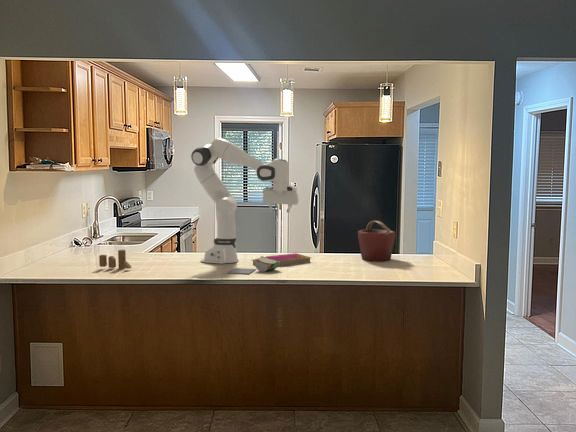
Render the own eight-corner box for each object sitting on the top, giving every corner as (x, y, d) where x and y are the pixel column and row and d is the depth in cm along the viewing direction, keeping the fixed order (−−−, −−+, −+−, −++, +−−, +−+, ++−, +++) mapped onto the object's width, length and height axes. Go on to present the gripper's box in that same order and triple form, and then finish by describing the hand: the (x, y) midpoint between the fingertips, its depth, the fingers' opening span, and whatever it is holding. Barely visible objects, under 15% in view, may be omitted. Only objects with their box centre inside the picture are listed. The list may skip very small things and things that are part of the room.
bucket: (398, 264, 329) (399, 222, 327) (361, 264, 327) (362, 222, 325) (387, 258, 353) (388, 219, 351) (353, 258, 352) (354, 219, 350)
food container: (270, 276, 297) (280, 271, 305) (270, 266, 296) (280, 260, 304) (251, 271, 303) (261, 265, 312) (252, 260, 302) (262, 255, 310)
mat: (227, 273, 294) (227, 272, 294) (234, 269, 308) (234, 268, 308) (248, 274, 292) (248, 273, 292) (255, 270, 305) (255, 268, 305)
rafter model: (265, 269, 310) (265, 258, 310) (250, 266, 321) (250, 255, 321) (312, 263, 332) (312, 253, 332) (296, 260, 343) (297, 250, 343)
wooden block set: (98, 270, 301) (97, 252, 300) (104, 266, 310) (104, 248, 308) (129, 271, 300) (129, 253, 298) (135, 267, 308) (135, 249, 306)
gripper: (261, 187, 309) (260, 211, 310) (297, 188, 305) (296, 213, 306) (264, 186, 315) (263, 211, 316) (299, 188, 311) (298, 212, 312)
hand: (280, 212), depth 311 cm, fingers open, 8 cm apart
